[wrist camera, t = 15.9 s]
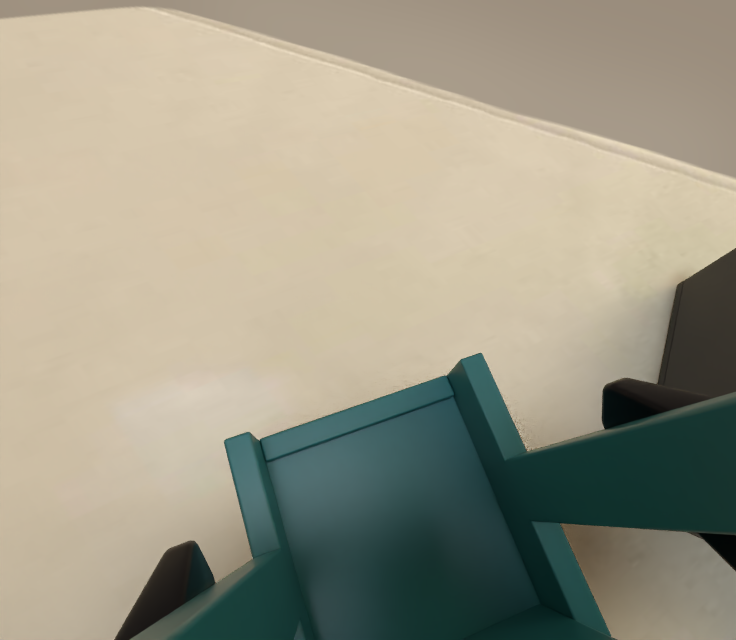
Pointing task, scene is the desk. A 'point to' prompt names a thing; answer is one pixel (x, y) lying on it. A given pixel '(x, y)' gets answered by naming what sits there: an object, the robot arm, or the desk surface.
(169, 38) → the desk surface
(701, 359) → the bin
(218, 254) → the desk surface
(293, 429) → the tray with tall posts
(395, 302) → the desk surface
